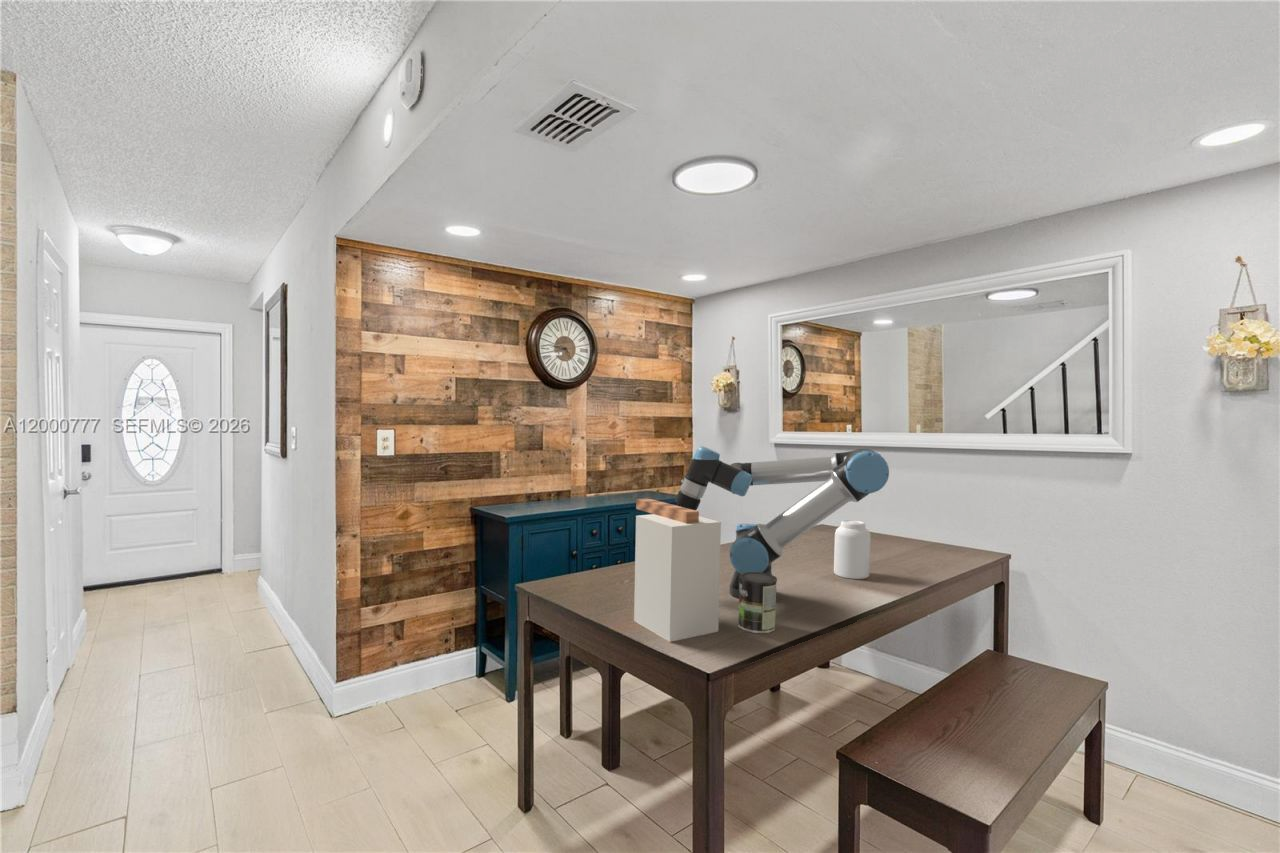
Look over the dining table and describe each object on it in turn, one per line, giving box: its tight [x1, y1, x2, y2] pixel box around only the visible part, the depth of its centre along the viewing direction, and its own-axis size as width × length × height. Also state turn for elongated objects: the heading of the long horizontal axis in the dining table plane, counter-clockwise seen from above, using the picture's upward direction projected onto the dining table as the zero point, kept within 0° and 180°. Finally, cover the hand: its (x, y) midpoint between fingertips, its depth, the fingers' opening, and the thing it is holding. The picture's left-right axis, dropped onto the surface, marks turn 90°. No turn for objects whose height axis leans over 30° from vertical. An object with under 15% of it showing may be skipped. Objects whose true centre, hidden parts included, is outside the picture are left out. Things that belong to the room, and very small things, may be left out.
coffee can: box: [737, 572, 778, 634], centre depth 173 cm, size 10×10×14 cm
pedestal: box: [633, 513, 722, 643], centre depth 172 cm, size 18×16×30 cm
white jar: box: [833, 519, 872, 580], centre depth 229 cm, size 12×12×20 cm
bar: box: [635, 497, 700, 524], centre depth 176 cm, size 26×4×3 cm, turn 31°
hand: (664, 555), depth 196 cm, fingers open, 13 cm apart
